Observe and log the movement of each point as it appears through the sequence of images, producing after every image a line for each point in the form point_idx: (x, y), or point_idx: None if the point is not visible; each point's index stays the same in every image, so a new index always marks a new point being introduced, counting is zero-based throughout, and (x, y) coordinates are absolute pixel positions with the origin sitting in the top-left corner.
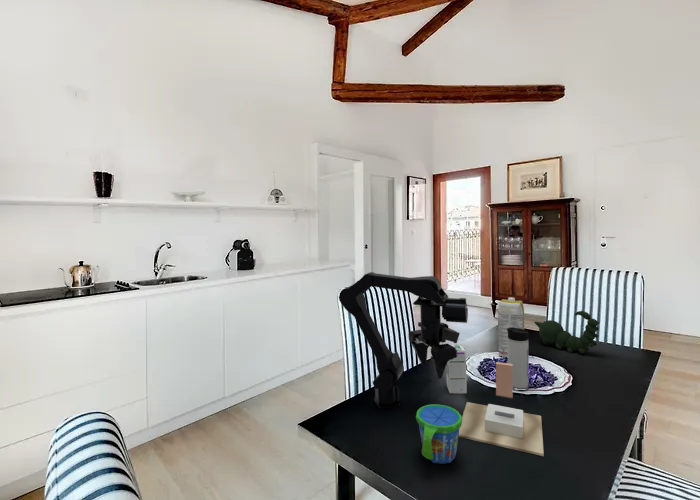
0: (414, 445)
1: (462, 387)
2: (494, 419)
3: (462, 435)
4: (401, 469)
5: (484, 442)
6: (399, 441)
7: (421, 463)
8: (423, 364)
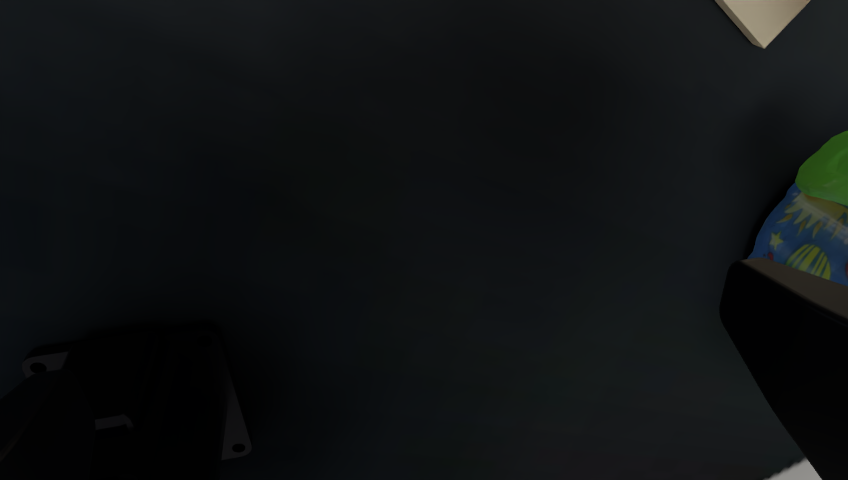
0: (688, 329)
1: None
2: None
3: (799, 8)
4: None
5: None
6: (620, 389)
7: None
8: (83, 449)
